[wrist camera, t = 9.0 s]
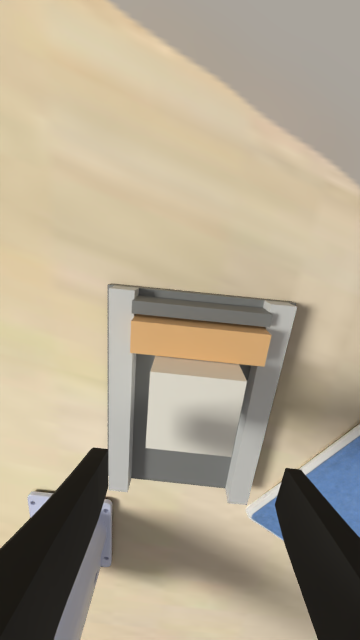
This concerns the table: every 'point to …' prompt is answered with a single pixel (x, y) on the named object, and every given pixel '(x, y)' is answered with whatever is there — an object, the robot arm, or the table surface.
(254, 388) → the rail mount
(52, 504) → the robot arm
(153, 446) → the block
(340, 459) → the tablet computer
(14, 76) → the table surface
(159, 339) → the block
